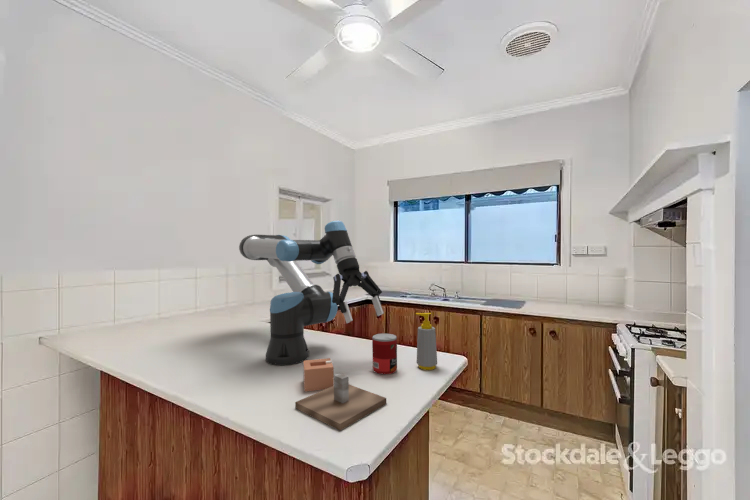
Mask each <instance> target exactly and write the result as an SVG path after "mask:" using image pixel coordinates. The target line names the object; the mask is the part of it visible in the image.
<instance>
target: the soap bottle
mask: <svg viewBox="0 0 750 500" xmlns="http://www.w3.org/2000/svg"><path fill="white" fill-rule="evenodd" d="M431 314H432V313H431V312H422V313H421V312H416V313H415V315H417V316H421V317H423V318H424V320H423V321H422V324H420V326H418V328H417V337H416V339H417V341H416V343H417V344H416V364H417V366H418V368H419V369H420V370H424V371H432V370H434V369H436V366H437V365H438V353H437V334H436V328H435V327H434V326H432V325H433V324H431V321H430V320H429V315H431Z"/></svg>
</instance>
